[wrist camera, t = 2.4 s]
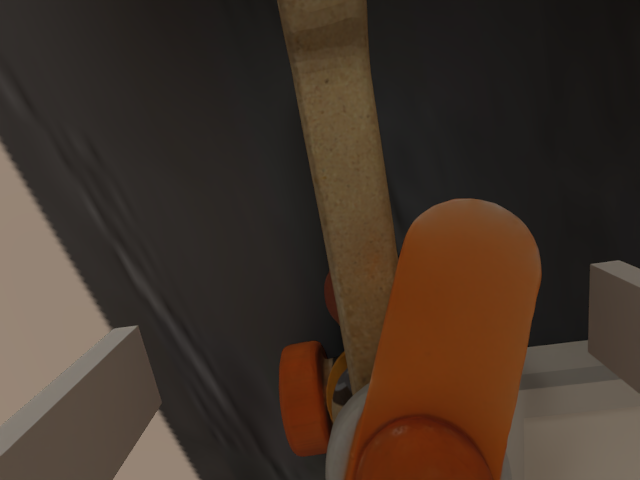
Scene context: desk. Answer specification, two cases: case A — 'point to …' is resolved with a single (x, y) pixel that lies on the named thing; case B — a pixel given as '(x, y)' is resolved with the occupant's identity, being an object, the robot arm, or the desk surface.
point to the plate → (573, 418)
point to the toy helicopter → (399, 291)
